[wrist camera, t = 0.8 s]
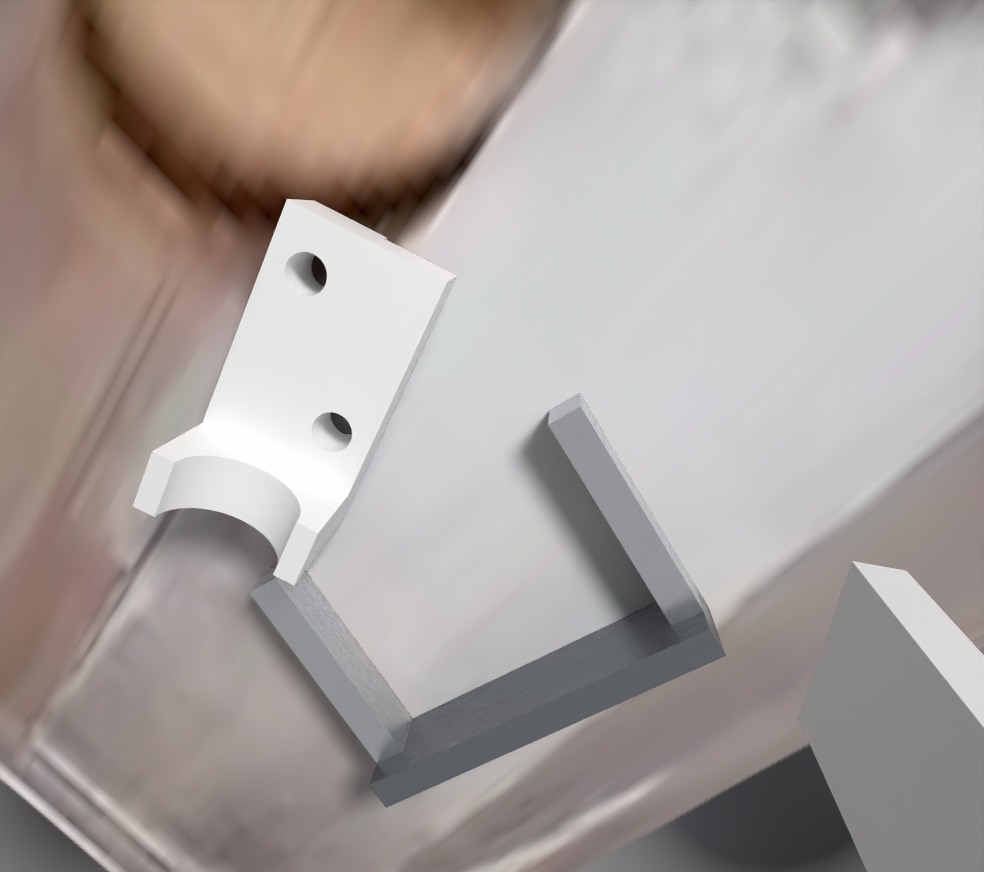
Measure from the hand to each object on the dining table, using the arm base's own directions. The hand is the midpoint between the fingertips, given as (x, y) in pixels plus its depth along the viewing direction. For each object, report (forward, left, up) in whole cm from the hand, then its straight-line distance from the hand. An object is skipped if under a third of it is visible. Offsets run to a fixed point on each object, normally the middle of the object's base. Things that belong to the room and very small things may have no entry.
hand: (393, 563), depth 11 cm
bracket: (-3, -8, -23) cm, 25 cm away
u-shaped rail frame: (+10, -8, -23) cm, 26 cm away
